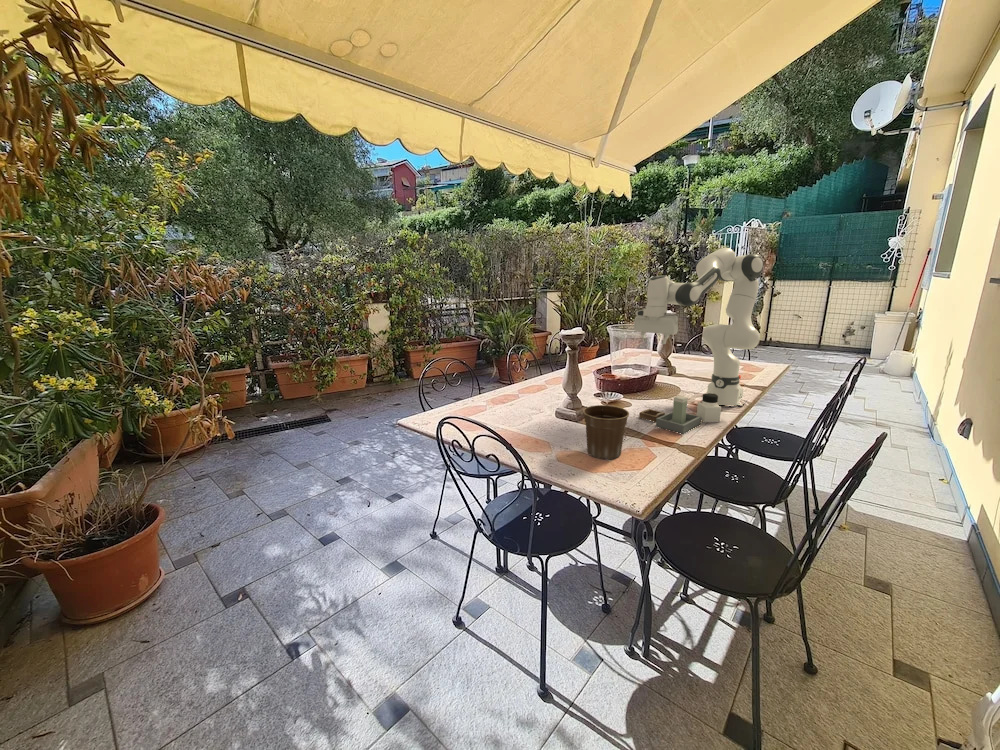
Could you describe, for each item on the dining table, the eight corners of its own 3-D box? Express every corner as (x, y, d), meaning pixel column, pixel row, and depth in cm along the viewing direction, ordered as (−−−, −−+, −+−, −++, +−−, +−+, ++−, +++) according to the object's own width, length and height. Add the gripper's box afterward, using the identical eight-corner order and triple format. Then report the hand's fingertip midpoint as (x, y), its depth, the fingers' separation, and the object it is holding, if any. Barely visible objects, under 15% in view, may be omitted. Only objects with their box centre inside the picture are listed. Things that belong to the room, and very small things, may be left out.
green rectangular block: (676, 421, 181) (678, 395, 178) (685, 424, 178) (687, 397, 175) (671, 423, 178) (673, 397, 175) (680, 426, 175) (683, 399, 172)
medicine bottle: (719, 422, 181) (722, 396, 178) (703, 422, 181) (706, 396, 178) (711, 416, 188) (714, 391, 185) (696, 417, 188) (698, 391, 185)
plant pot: (594, 440, 164) (595, 402, 160) (633, 450, 154) (636, 409, 150) (573, 454, 152) (574, 413, 148) (615, 466, 142) (617, 422, 138)
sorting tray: (674, 418, 187) (674, 410, 186) (700, 425, 178) (701, 416, 178) (655, 426, 177) (656, 418, 176) (682, 434, 168) (683, 425, 168)
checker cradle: (648, 413, 194) (648, 407, 193) (664, 418, 188) (665, 412, 187) (639, 417, 189) (639, 411, 188) (655, 422, 183) (656, 416, 182)
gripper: (682, 313, 181) (679, 344, 184) (640, 310, 196) (638, 339, 199) (674, 314, 177) (672, 346, 180) (632, 311, 192) (630, 341, 195)
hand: (654, 342), depth 190 cm, fingers open, 8 cm apart
